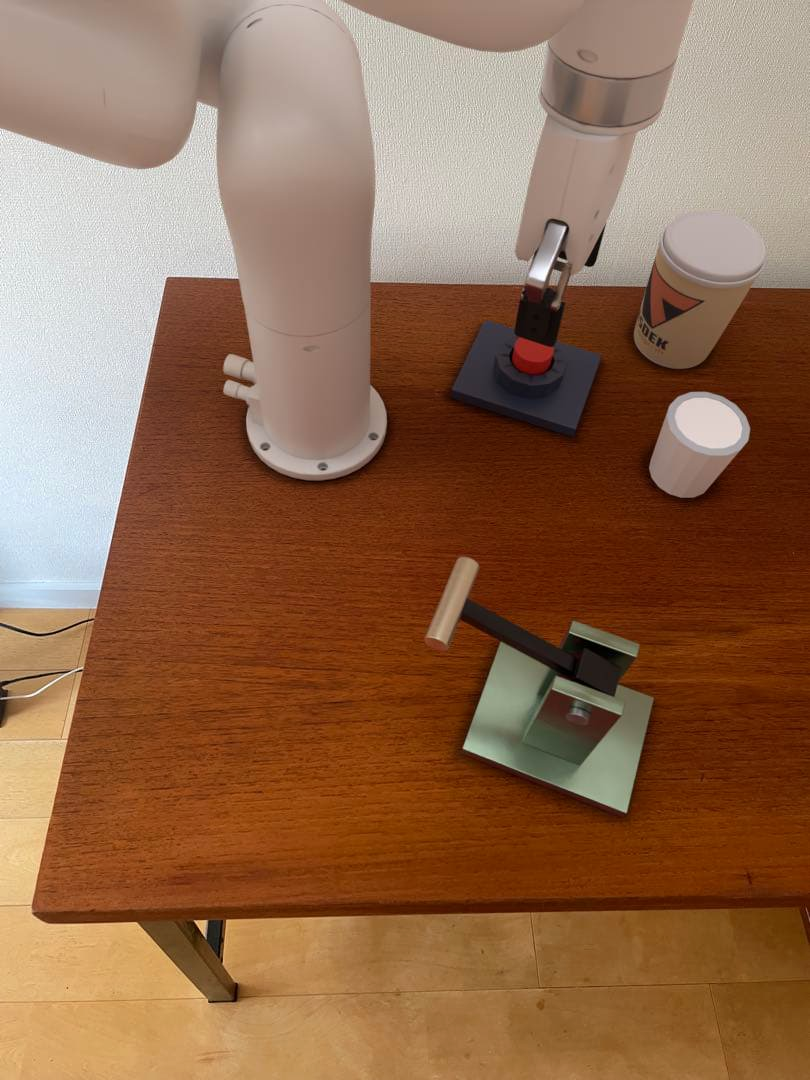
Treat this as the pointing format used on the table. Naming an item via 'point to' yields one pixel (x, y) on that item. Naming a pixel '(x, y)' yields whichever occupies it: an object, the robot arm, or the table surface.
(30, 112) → the robot arm
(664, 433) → the white cylinder
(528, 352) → the button
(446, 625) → the lever
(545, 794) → the table surface
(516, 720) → the bracket
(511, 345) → the button block
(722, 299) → the coffee cup
